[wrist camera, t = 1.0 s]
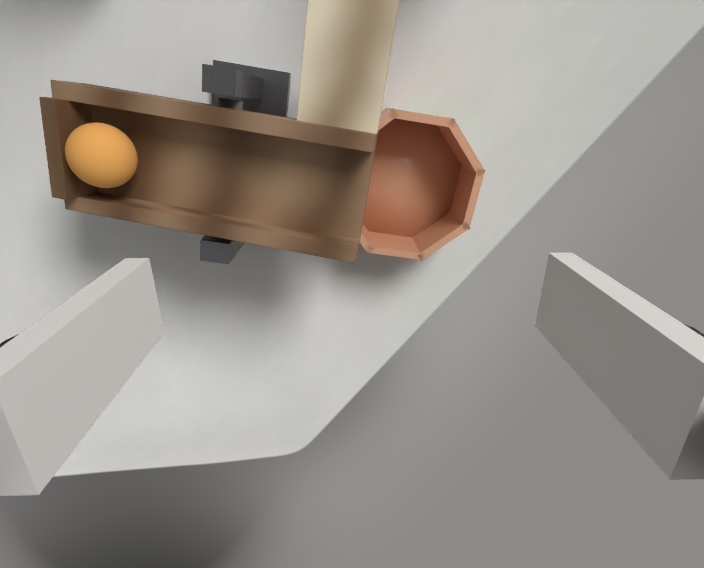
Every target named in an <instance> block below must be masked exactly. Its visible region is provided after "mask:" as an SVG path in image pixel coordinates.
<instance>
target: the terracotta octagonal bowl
mask: <svg viewBox="0 0 704 568" xmlns="http://www.w3.org/2000/svg"><path fill="white" fill-rule="evenodd" d="M484 172H485V170H484V169H483V167H482V165H481V164H480V162H479V160H478V159H477V157H476V155H475V153H474V152H473V150H472V148H471V147H470V145H469V143H468V142H467V140H466V138H465V137H464V135H463V133H462V131H461V130H460V128H459V126H458V125H457V123H456V121H455V119H454V118H446V117H438V116H432V115H426V114H420V113H414V112H408V111H402V110H396V109H394V108H387V109H386V108H385V110H384V111H383V112H381V116H380V122H379V128H378V136H377V142H376V148H375V154H374V160H373V166H372V172H371V178H370V184H369V190H368V196H367V202H366V208H365V214H364V220H363V226H362V232H361V238H360V243H361V245H362V246H363V247H364V249H365V250H366V252H367V253H373V254H381V255H388V256H395V257H402V258H409V259H416V260H423V259H424V258H426V257H427V256H429V255H430V254H432V253H433V252H435V251H436V250H438V249H439V248H441V247H442V246H444V245H445V244H447V243H448V242H450V241H451V240H453V239H454V238H456V237H457V236H459V235H460V234H462V233H463V232H465V231H466V230H468V229H469V228H470V224H471V220H472V217H473V213H474V209H475V205H476V202H477V198H478V194H479V191H480V187H481V183H482V180H483V176H484Z"/></svg>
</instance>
